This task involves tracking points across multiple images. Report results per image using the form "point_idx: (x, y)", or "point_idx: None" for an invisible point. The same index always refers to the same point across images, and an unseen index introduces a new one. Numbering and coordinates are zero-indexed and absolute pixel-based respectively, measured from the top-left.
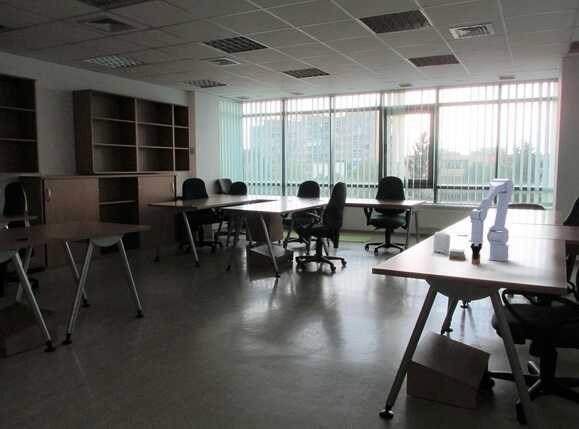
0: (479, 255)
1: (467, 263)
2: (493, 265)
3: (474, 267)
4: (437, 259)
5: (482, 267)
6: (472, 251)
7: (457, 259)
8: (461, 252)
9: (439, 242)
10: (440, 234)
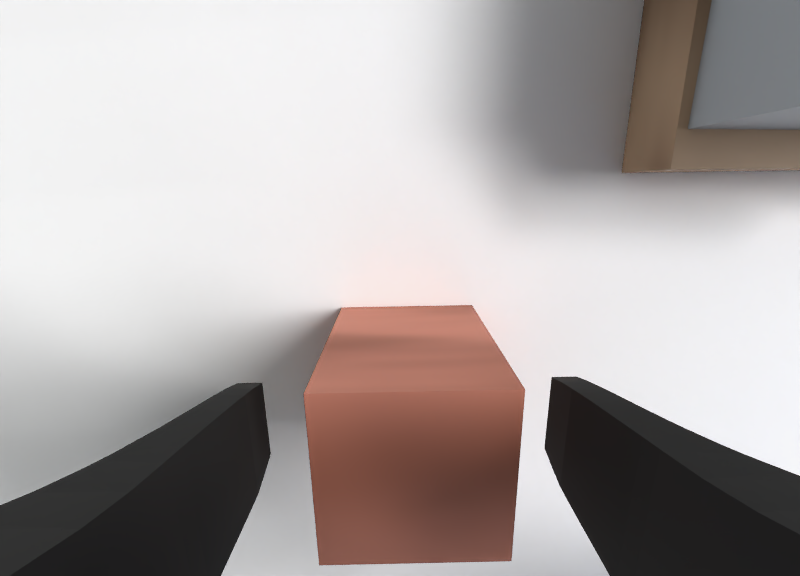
0: (321, 537)
1: (319, 244)
2: (354, 572)
3: (28, 367)
4: None
5: None
6: (37, 495)
7: (645, 21)
8: (795, 50)
9: None
10: None
